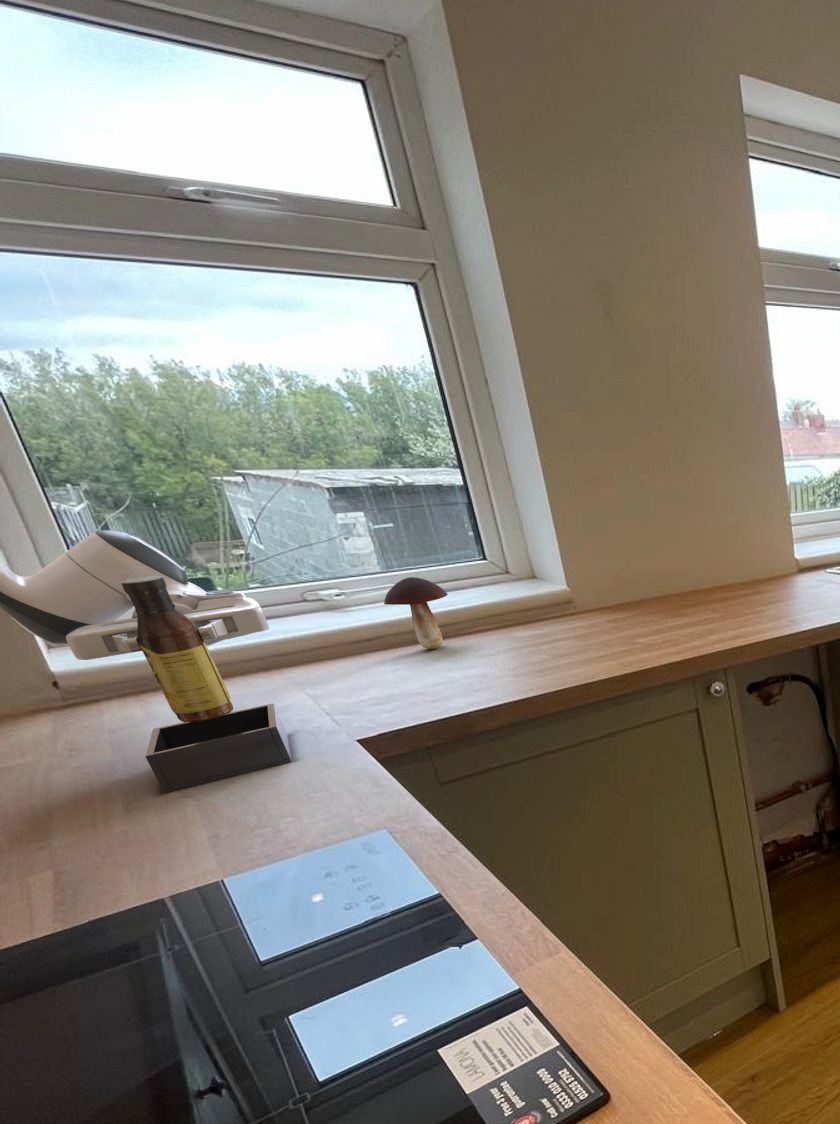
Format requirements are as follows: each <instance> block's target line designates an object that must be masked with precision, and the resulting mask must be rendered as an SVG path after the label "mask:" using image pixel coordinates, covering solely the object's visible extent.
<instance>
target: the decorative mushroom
mask: <svg viewBox="0 0 840 1124" xmlns="http://www.w3.org/2000/svg"><path fill="white" fill-rule="evenodd" d="M448 595H449V594H448V593H447V591H446V590H445V589H444V588H442V587H441V586H440V585H438V584H436V583H434V582H432V581H431V580H427V579H425V578H422V577H421V578H420V577H417V576H416V577H414V576H409V577H406V578H403V579H401V580H399V581H398V582H396V583H395V584H394V585H392V587H391V588H390V589H389V590H388V592H386V595H385V598H384V602H383V604H384V605H386V606H387V605H389V606H391V605H392V606H396V605H402V606H404V605H405V606H407V605H408V606H410V607H409V608H410V614H411V619H412V625H413V628H414V632H415V635H416V638H417V641H418V643H419V644H420V646H421V647H422V648H424V649H428V650H433V649H434V650H435V649H437V648H440V647H441V646H442V645H443V643H444V642H443V641H444V640H443V639H444V638H443V636H442V632H441V629H440V627H439V623H438V622H437V620H436V618H435V616H434V614H433V612H432V609H431V607H430V606H429V603H428V602H432V601H433V602H434V601H437V600H440V599H443V598H445V597H447V596H448Z"/></svg>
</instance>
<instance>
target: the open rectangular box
mask: <svg viewBox="0 0 840 1124" xmlns="http://www.w3.org/2000/svg"><path fill="white" fill-rule="evenodd" d="M145 759H146V761H147V763H148V764H149V767H150V768H151V771H152V772H153V774H154V776H155V778H156V781H158V784H159V786H160V788H161V790H162V792H163V793H164V794H166V793H169V792H174V791H178V790H182V789H186V788H190V787H195V786H199V785H202V784H206V783H211V782H214V781H218V780H222V779H226V778H231V777H235V776H239V775H242V774H246V773H247V774H248V773H250V772H254V771H258V770H259V771H260V770H263V769H266V768H270V767H274V766H278V765H283V764H286V763H290V762H291V763H292V756H291V749H290V741H289V735H288V733H287V731H286V728H285V726H284V724H283V722H282V719H281V717H280V715H279V712H278V710H277V708H276V706H275V703H269V704H263V705H257V706H253V707H249V708H244V709H240V710H235V711H231V712H230V713H228V714H225V715H222V716H220V717H218V718H215V719H211V720H203V721H197V722H179V723H174V724H169V725H165V726H160V727H155V728H152V731H151V735H150V739H149V741H148V745H147V749H146V753H145Z"/></svg>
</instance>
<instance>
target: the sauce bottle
mask: <svg viewBox="0 0 840 1124" xmlns="http://www.w3.org/2000/svg"><path fill="white" fill-rule="evenodd" d="M121 584H122V586H123V589H124V591H125V592H126V593H127V594H128V595H129V597H130V599H131V601H132V603H133V605H134V607H133V608H134V610H135V611H136V613H137V627H138V643H139V645H140V648H141V650H142V651H141V652H142V654H143V655H144V657H145V659H146V661H147V664H148V665H149V667H150V669H151V671H152V674H153V675H154V677H155V679H156V682H157V683H158V686H159V687H160V690H161V691H162V693H163V695H164V697H165V699H166V701H167V703H168V706H169V707H170V709H171V711H172V712H173V713H174V714H175V715H176V717H177V719H178V720H179V722H181V723H183V722H197V721H203V720H211V719H215V718H218V717H220V716H222V715H225V714H228V713H230V712H233V711H234V705H233V702H232V701H231V694H230V693H229V690H228V689H227V686H226V684H225V681H224V680H223V677H222V676H221V674H220V671H219V669H218V667H217V665H216V663H215V661H214V659H213V657H212V655H211V652H210V650H209V648H208V646H206V644H205V642H204V641H203V640H202V638H201V635H200V633H199V631H198V629H197V627H196V625H195V624H194V623H193V621H192V620H190V619H189V618H187V617H186V616H185V615H183V614H182V613H180V612H179V611H177V610H176V609H175V604H174V603H173V602H172V600H171V598H170V596H169V593H168V591H167V589H166V587H167V586H166V583H165V581H164V579H163V577H162V576H145V577H138V578H133V579H128V580H124V581H122V582H121Z"/></svg>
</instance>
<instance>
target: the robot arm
mask: <svg viewBox="0 0 840 1124" xmlns="http://www.w3.org/2000/svg"><path fill="white" fill-rule="evenodd" d="M145 576H162V577H163V579H164V581H165V583H166V586H167V587H166V589H167V591H168V593H169V596H170V598H171V600H172V602H173V603H174V604H175V609H176V610H177V611H179V612H180V613H182V614H183V615H185V616H186V617H187V618H189V619H190V620H192V621H193V623H194V624H195V625H196V627H197V629H198V631H199V633H200V635H201V638H202V640H203V641H204V642H205V644H206V646H207V647H209V646H212V645H214V644H217V643H219V642H220V643H221V642H222V641H226V640H230V639H234V638H238V637H244V636H248V635H252V634H255V633H261V632H262V633H263V632H266V631H268V630H269V629H270V626H269V624H268V622H267V619H266V617H265V614H264V612H263V609H262V606H261V605H260V604H259V602H258V601H256V600H255V599H254V598H251V597H247V595H246V593H245V592H244V591H241V590H227V591H225V590H224V591H206V590H204V589H203V588H202V587H200V586H198V585H196V584H195V583H192V582H190V581H189V578H188V574H187V571H186V569H185V567H184V566H183V565H182V564H181V563H180V562H178V560H176V558H174V557H172V555H170V554H169V553H167V552H166V551H165V550H163V549H161V548H160V547H158V546H157V545H155V544H153V543H152V542H150V541H148V540H146V539H145V538H142V537H140V536H138V535H136V534H134V533H129V532H124V531H117V530H110V529H109V530H105V529H104V530H103V529H101V530H100V529H99V530H95V532H93V533H91V534H90V535H88V536H87V537H85V538H84V539H82V540H81V541H79V542H77V543H76V544H74V545H73V546H71V547H70V548H69V549H67V551H65V553H63V554H62V555H60V556H58V557H57V558H56V559H54V560H53V561H52V562H50V563H49V564H47V565H46V566H44V567H43V568H41V569H39V570H38V571H37V572H35V573H34V574H31V575H28V576H27V575H26V576H23V575H18V574H16V573H15V572H14V571H12V570H11V569H10V568H8V567H7V566H6V565H4V564H3V563H2V562H0V609H1V610H2V611H4V612H5V613H6V614H7V615H9V616H10V617H11V619H12V620H14V621H15V622H16V623H17V624H18V625H19V626H20V627H22V628H23V629H24V630H26V631H27V632H29V633H30V634H32V635H34V636H36V637H37V638H39V639H41V640H44V641H46V642H49V643H51V644H54V645H55V644H56V645H57V644H58V645H68V646H69V648H70V651H71V652H72V654H73V656H74V657H75V658H76V659H77V660H81V661H89V660H90V661H91V660H96V659H102V658H108V657H115V656H119V655H128V654H133V653H138V652H143V651H142V650H141V648H140V645H139V643H138V627H137V613H136V611H135V609H134V610H133V612H132V615H131V618H126V619H119V618H120V617H122V616H123V615H124V614H126V613H127V612H128V611H130V610H131V609H132V608H135V607H134V605H133V603H132V601H131V599H130V597H129V595H128V594H127V593H126V592H125V591H124V589H123V586H122V584H121V582H122V581H124V580H128V579H133V578H138V577H145ZM117 619H119V620H117Z"/></svg>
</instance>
